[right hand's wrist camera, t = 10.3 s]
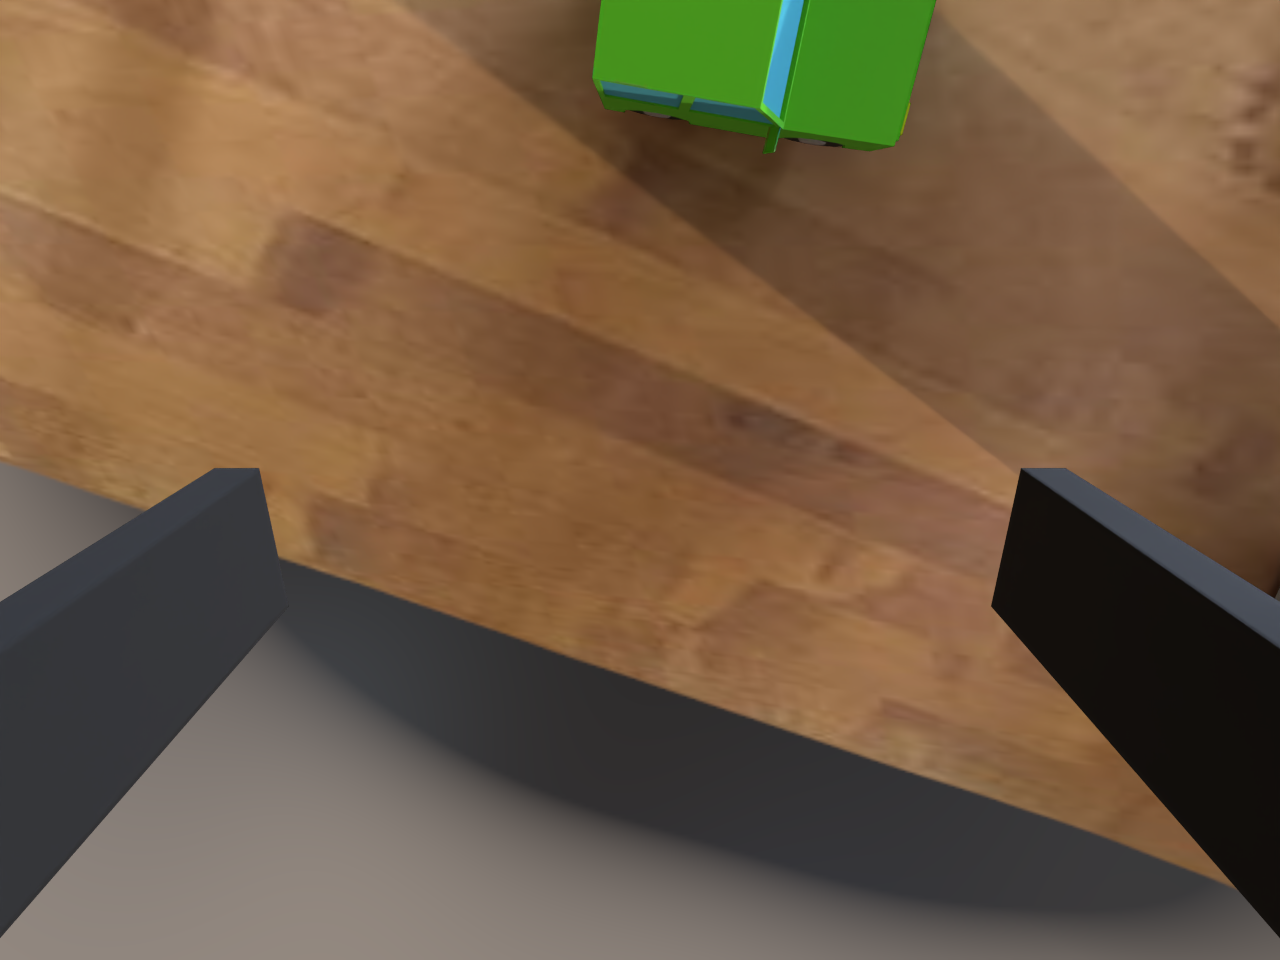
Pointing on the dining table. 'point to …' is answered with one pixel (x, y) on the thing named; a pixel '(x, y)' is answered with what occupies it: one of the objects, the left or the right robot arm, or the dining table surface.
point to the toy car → (766, 65)
